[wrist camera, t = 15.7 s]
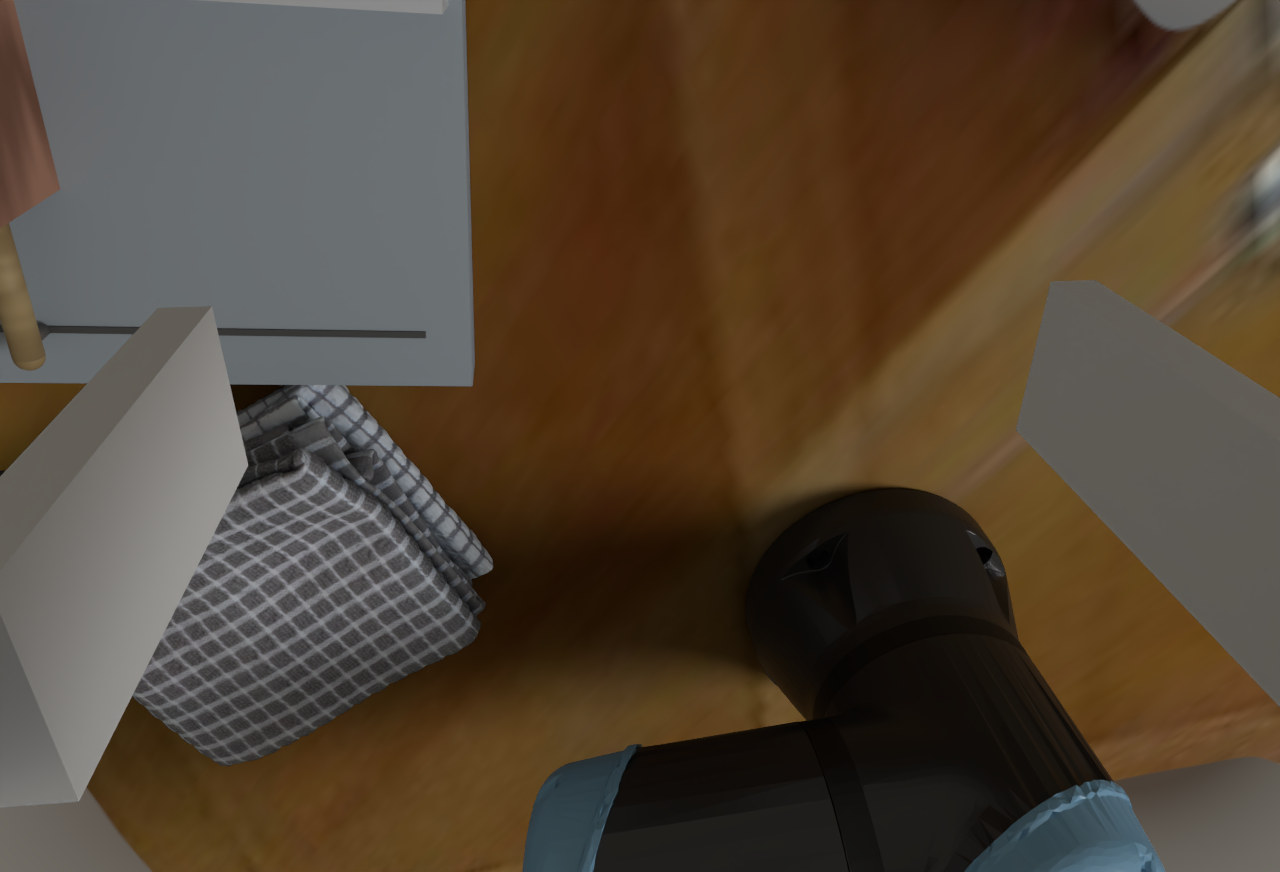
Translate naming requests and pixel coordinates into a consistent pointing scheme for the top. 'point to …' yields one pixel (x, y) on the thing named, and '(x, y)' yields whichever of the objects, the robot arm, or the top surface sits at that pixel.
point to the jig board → (254, 185)
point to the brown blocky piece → (20, 187)
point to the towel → (312, 583)
